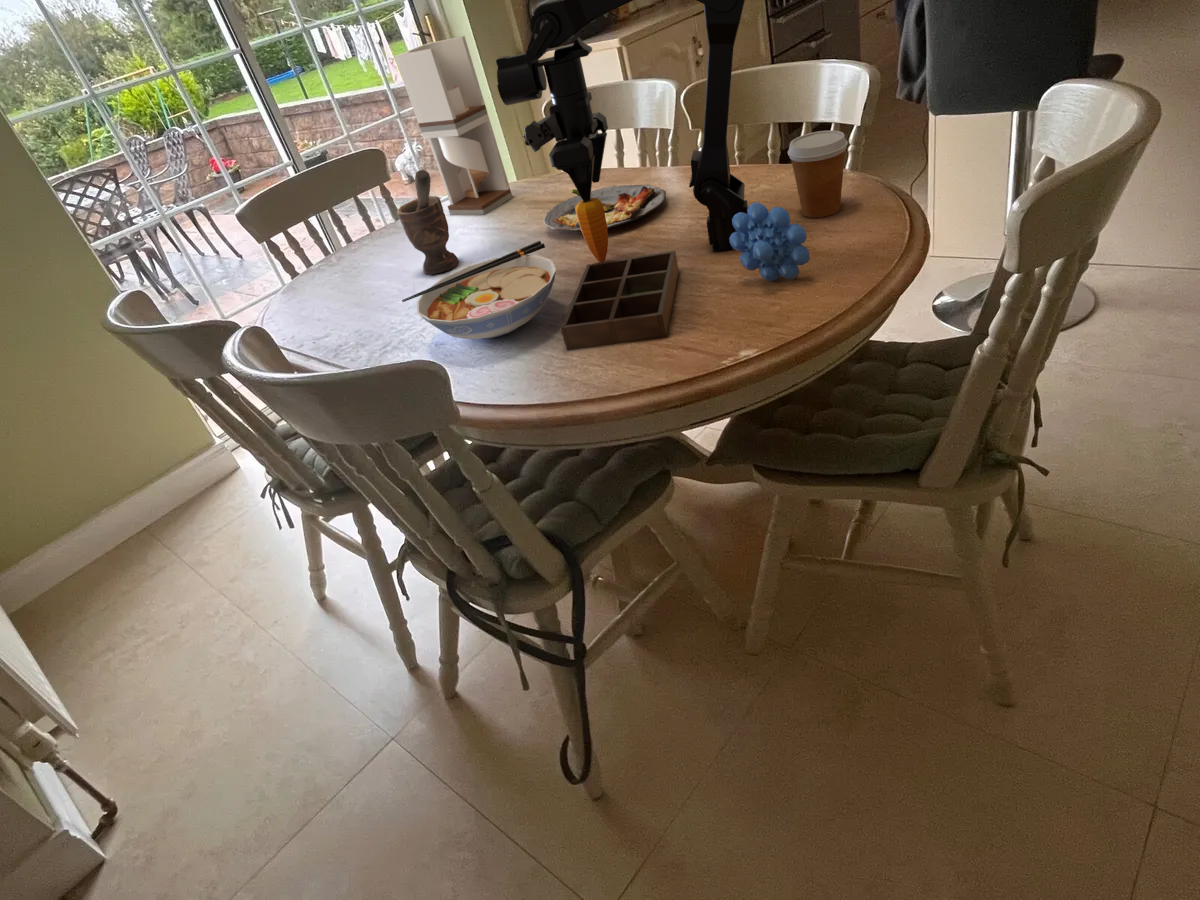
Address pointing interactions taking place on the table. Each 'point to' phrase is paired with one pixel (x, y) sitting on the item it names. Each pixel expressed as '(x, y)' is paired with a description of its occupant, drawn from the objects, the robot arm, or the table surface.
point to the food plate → (609, 206)
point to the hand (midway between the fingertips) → (591, 191)
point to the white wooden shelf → (455, 124)
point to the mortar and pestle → (427, 227)
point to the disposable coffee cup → (819, 171)
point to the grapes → (769, 242)
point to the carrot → (593, 226)
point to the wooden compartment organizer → (622, 301)
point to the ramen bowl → (489, 295)
